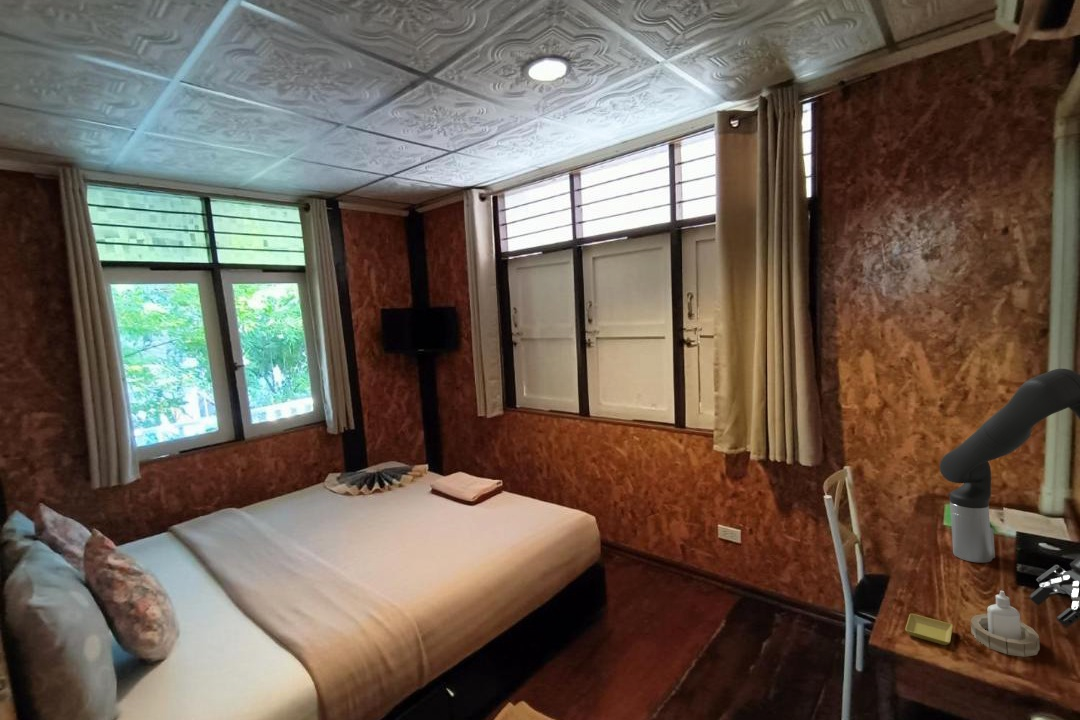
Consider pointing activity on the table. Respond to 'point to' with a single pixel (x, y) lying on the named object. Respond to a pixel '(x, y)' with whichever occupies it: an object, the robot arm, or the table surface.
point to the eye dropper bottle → (1004, 618)
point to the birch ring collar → (1004, 645)
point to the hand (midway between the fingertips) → (1046, 611)
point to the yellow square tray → (929, 629)
